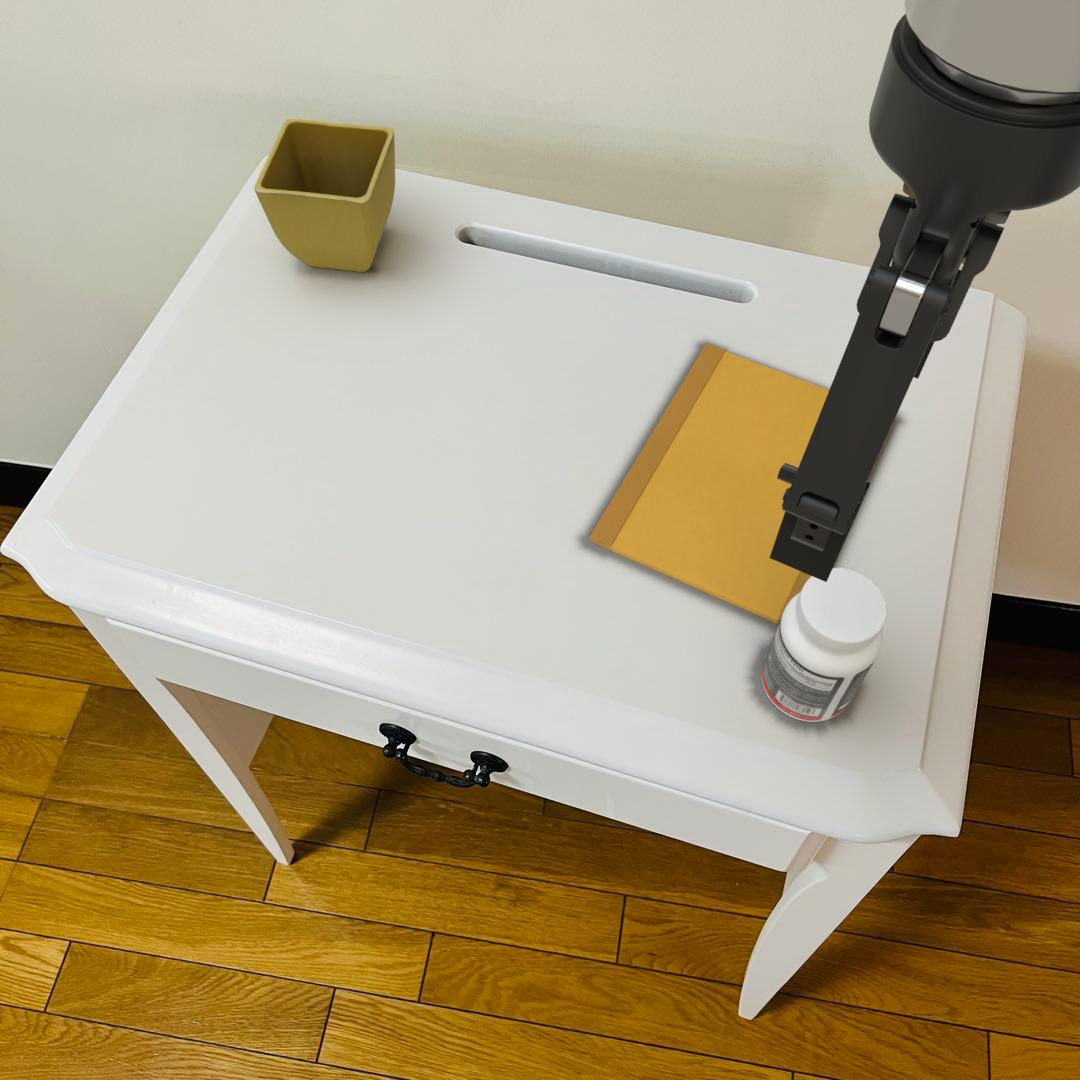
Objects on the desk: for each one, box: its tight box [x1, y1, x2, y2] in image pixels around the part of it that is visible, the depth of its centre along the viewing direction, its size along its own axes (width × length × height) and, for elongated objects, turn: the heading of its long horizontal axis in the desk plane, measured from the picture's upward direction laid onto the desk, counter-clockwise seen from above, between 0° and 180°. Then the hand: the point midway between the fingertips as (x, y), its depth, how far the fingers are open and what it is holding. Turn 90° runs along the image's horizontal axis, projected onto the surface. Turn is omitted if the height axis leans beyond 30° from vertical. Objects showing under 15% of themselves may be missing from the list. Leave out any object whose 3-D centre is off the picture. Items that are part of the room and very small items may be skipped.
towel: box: [589, 343, 898, 625], centre depth 73 cm, size 15×20×1 cm
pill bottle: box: [761, 567, 888, 723], centre depth 61 cm, size 6×6×10 cm
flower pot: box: [253, 118, 396, 273], centre depth 82 cm, size 9×9×9 cm
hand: (850, 458), depth 50 cm, fingers open, 13 cm apart
